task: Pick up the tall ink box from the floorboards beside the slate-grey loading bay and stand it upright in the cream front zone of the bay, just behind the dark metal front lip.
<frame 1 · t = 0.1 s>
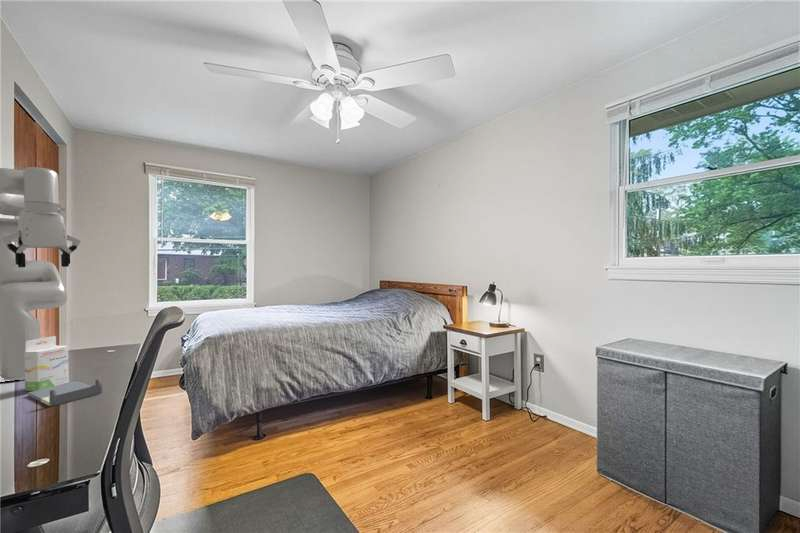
hand: (44, 266, 107), 37 cm above the table, tool pointing down, fingers open, 9 cm apart
loading bay: (65, 394, 102), on the table
ink box: (48, 387, 109), on the table
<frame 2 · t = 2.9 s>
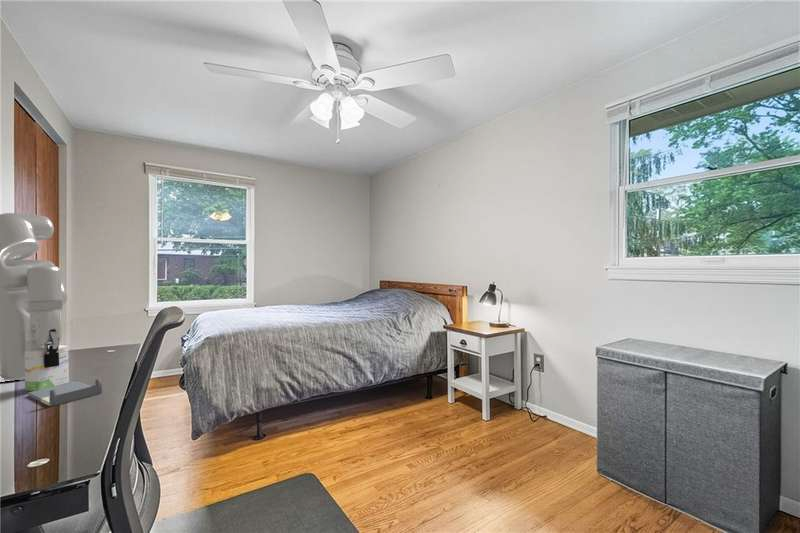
hand: (47, 364, 109), 7 cm above the table, tool pointing down, fingers closed on ink box, 6 cm apart
ink box: (48, 387, 109), on the table, touching gripper
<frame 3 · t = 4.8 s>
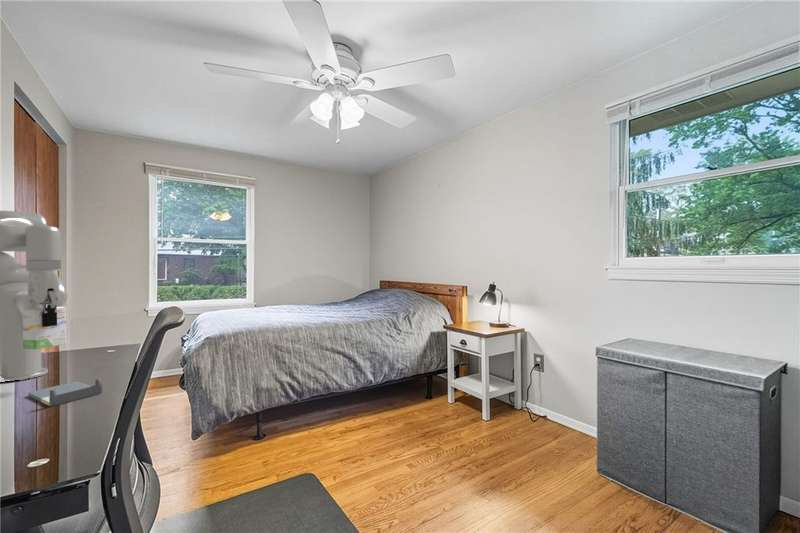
hand: (45, 324, 109), 19 cm above the table, tool pointing down, fingers closed on ink box, 6 cm apart
ink box: (46, 347, 109), point 12 cm above the table, touching gripper
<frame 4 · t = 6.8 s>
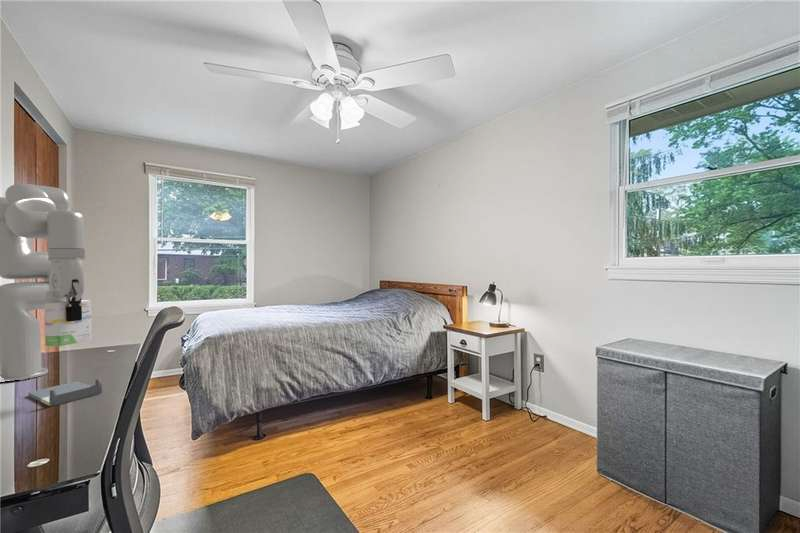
hand: (69, 319, 100), 22 cm above the table, tool pointing down, fingers closed on ink box, 6 cm apart
ink box: (69, 343, 100), point 15 cm above the table, touching gripper
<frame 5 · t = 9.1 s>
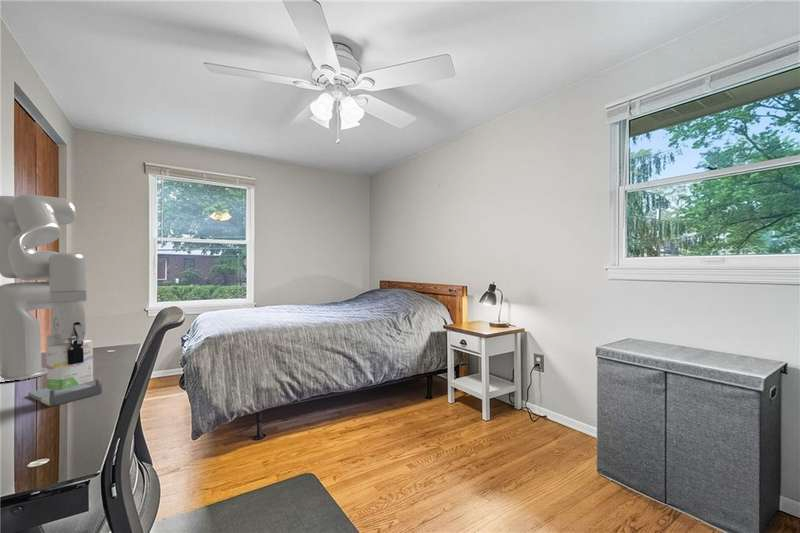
hand: (70, 361, 100), 10 cm above the table, tool pointing down, fingers closed on ink box, 6 cm apart
ink box: (71, 385, 100), point 3 cm above the table, touching gripper
when the fingers open (8 cm above the table, at t = 10.9 s): ink box stays where it is, resting on loading bay.
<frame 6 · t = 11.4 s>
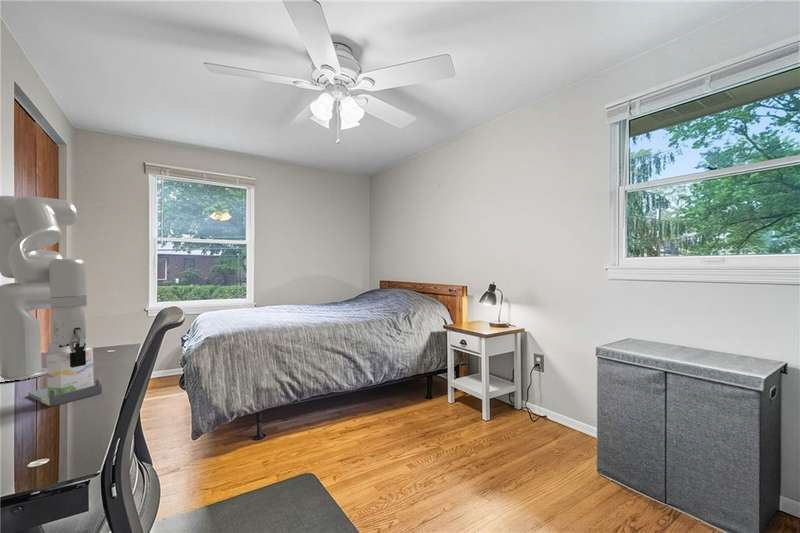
hand: (70, 364, 100), 9 cm above the table, tool pointing down, fingers open, 9 cm apart
ink box: (71, 393, 100), point 1 cm above the table, touching loading bay
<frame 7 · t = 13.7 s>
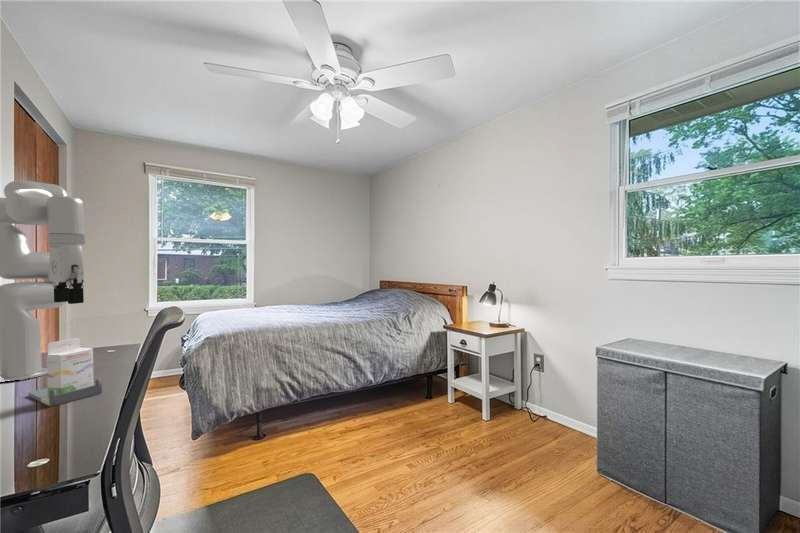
hand: (68, 302, 100), 26 cm above the table, tool pointing down, fingers open, 9 cm apart
nothing on the table moved.
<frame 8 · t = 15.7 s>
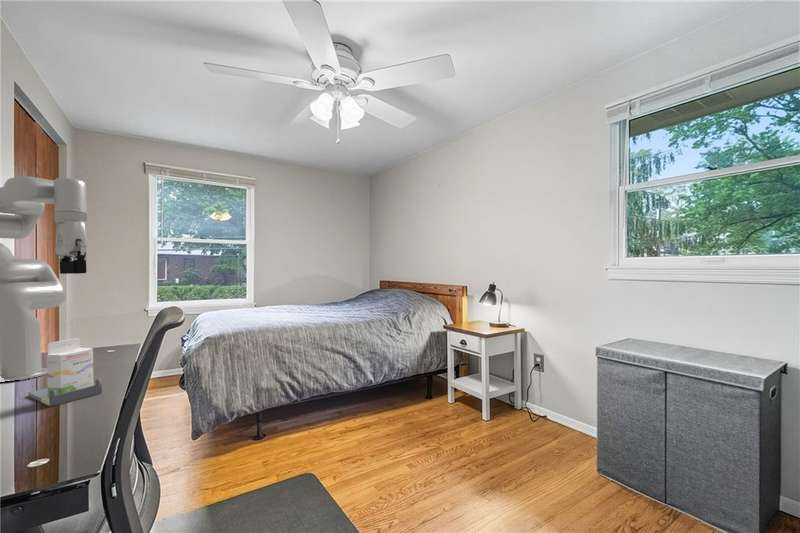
hand: (73, 273, 112), 34 cm above the table, tool pointing down, fingers open, 9 cm apart
nothing on the table moved.
at the end: ink box 0.6 cm from the target spot on the loading bay, point 0.8 cm above the loading bay's base; ink box tilted 0°; the gripper is holding nothing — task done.
